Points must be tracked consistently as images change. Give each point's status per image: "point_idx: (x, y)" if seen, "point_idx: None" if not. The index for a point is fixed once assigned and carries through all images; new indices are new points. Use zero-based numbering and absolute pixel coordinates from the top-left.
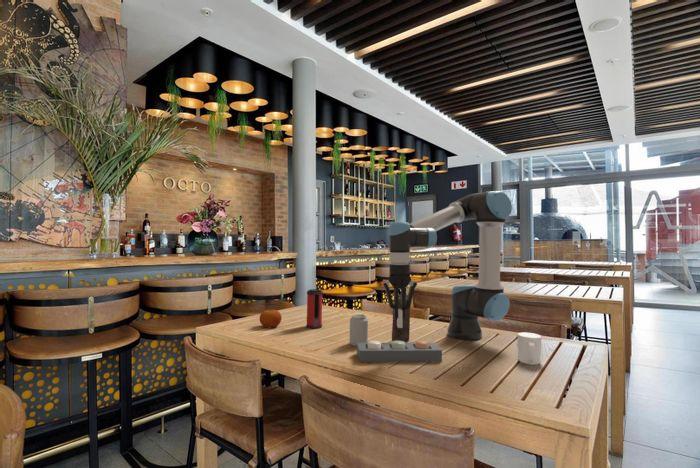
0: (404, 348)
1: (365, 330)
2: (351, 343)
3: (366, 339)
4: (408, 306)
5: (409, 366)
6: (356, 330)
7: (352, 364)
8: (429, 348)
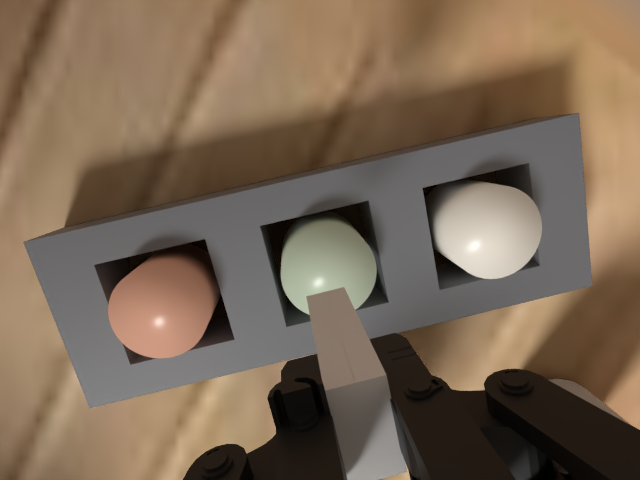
0: (284, 247)
1: None
2: (589, 391)
3: None
4: (218, 458)
5: (252, 98)
6: None
7: (572, 70)
8: None
